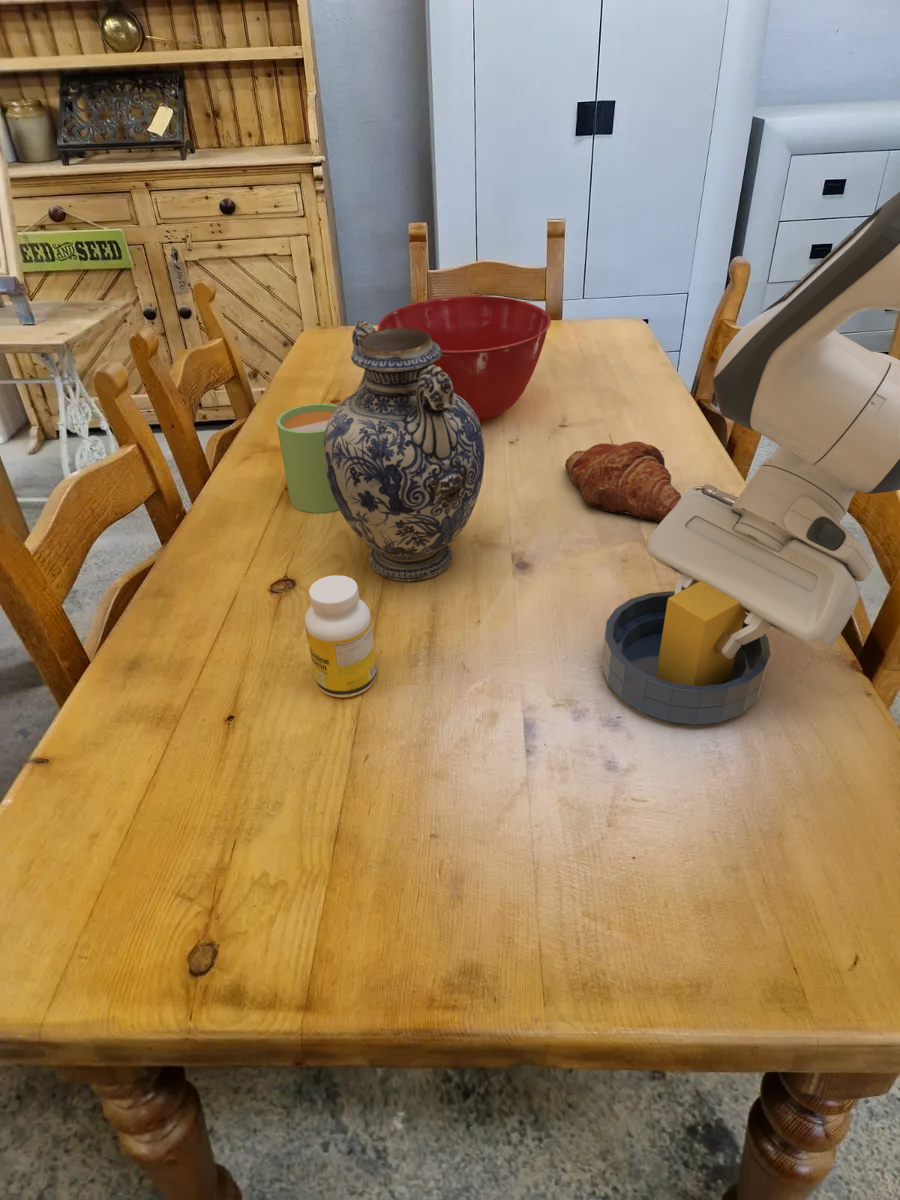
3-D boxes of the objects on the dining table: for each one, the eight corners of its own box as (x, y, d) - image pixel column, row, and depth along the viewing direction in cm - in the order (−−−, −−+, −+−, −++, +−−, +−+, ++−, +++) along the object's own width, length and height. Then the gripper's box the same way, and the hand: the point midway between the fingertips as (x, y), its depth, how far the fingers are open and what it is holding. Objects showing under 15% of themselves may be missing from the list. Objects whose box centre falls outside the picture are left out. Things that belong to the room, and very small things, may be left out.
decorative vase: (520, 575, 97) (524, 347, 80) (385, 626, 89) (359, 387, 73) (434, 504, 112) (422, 300, 95) (312, 543, 104) (277, 329, 88)
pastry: (552, 517, 108) (554, 463, 103) (566, 466, 120) (569, 416, 115) (680, 528, 104) (688, 473, 99) (681, 475, 116) (688, 424, 111)
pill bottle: (317, 661, 85) (301, 572, 78) (377, 656, 85) (366, 566, 78) (314, 703, 80) (296, 611, 73) (378, 697, 80) (367, 605, 73)
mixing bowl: (511, 454, 124) (512, 356, 115) (355, 428, 134) (344, 336, 125) (569, 390, 144) (573, 303, 135) (429, 372, 154) (425, 290, 145)
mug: (372, 501, 113) (363, 422, 106) (302, 519, 110) (288, 439, 103) (342, 466, 122) (332, 392, 115) (276, 482, 119) (262, 406, 112)
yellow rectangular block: (730, 677, 79) (749, 596, 73) (690, 702, 76) (706, 621, 70) (695, 654, 82) (710, 575, 76) (655, 678, 79) (667, 597, 74)
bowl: (786, 721, 75) (798, 682, 72) (624, 737, 74) (630, 698, 71) (725, 622, 88) (732, 585, 85) (586, 634, 87) (589, 597, 84)
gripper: (683, 464, 79) (605, 579, 80) (875, 550, 65) (776, 687, 67) (706, 490, 84) (632, 599, 85) (890, 576, 70) (797, 703, 71)
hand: (696, 638), depth 76 cm, fingers closed on yellow rectangular block, 4 cm apart
